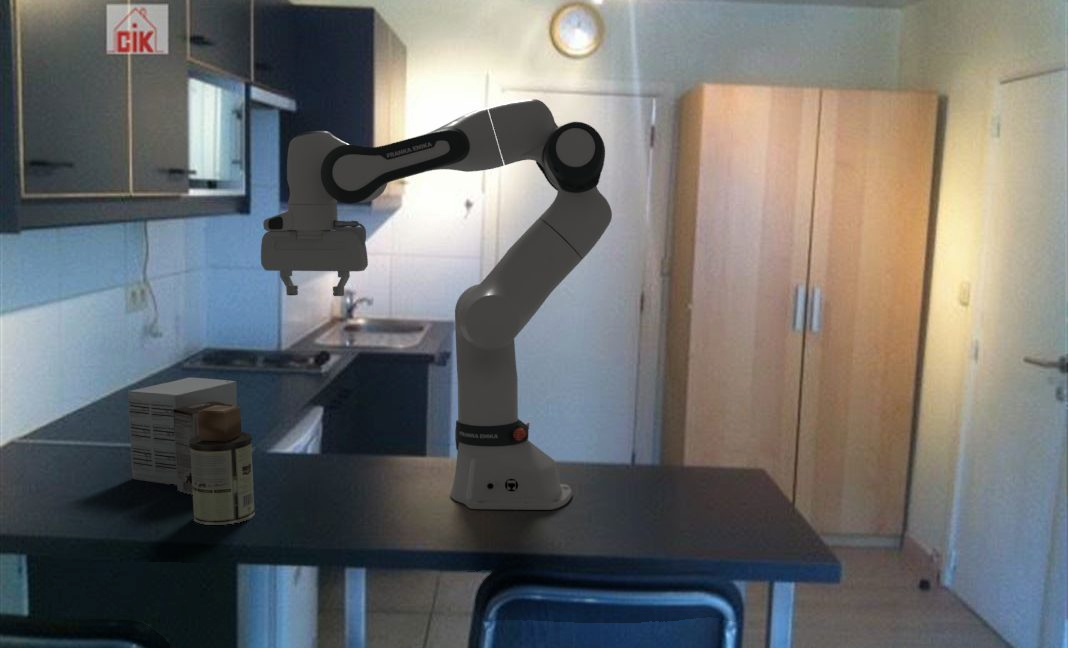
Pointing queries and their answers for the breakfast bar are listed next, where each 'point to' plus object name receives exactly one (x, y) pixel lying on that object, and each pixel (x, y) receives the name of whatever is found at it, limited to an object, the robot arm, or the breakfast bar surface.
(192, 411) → the coffee box
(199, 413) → the walnut cube
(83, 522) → the breakfast bar surface
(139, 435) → the supplement box
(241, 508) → the coffee can
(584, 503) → the breakfast bar surface
